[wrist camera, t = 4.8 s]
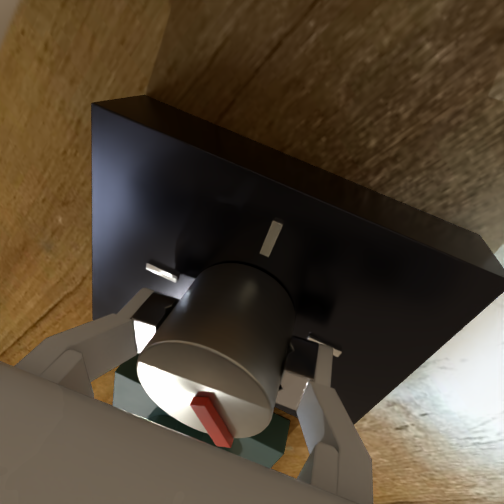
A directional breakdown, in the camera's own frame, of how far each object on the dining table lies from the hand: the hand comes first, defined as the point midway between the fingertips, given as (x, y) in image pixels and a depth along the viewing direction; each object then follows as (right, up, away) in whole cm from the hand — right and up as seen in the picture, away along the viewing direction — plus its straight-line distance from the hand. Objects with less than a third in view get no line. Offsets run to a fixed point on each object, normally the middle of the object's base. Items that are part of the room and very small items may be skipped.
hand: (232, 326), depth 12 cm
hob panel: (+1, +2, +3) cm, 4 cm away
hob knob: (0, +1, +1) cm, 1 cm away
